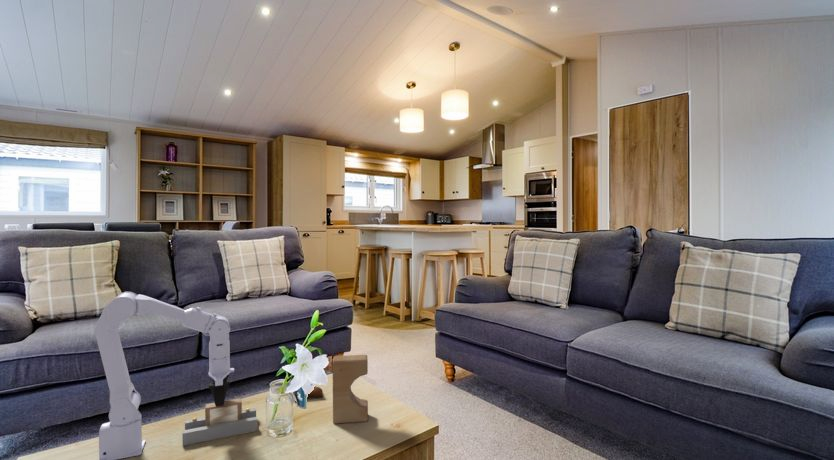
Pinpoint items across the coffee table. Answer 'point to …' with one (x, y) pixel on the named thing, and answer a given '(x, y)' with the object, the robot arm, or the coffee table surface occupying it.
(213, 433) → the picture ledge
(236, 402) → the walnut frame
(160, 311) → the robot arm
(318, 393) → the sunglasses case
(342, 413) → the decorative block
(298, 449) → the coffee table surface
